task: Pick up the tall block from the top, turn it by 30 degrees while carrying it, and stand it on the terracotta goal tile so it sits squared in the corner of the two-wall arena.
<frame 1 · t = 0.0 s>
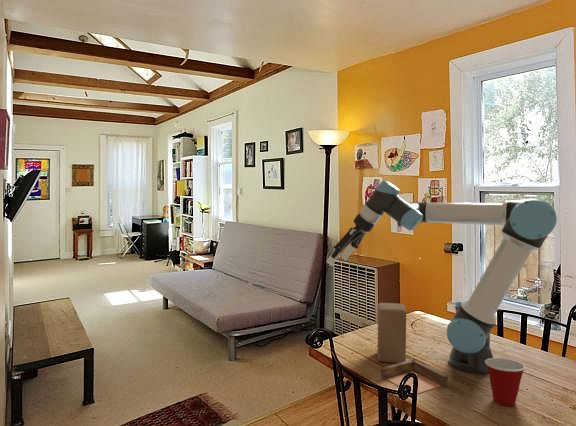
hand: (336, 261, 160), 36 cm above the table, tool tilted 35°, fingers open, 13 cm apart
goal tile: (413, 383, 136), on the table
arena: (413, 383, 136), on the table
plastic cup: (503, 401, 124), on the table
block: (391, 358, 156), on the table
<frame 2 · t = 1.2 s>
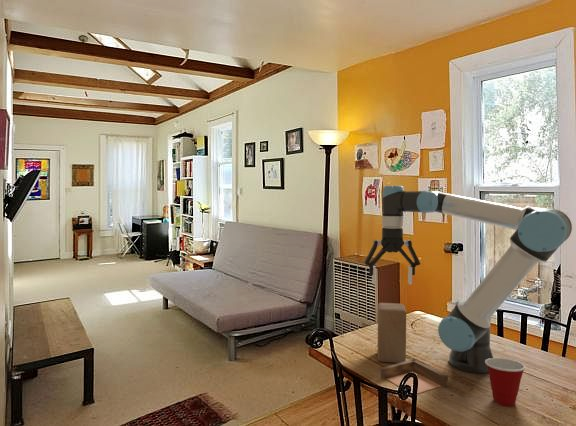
hand: (391, 283, 154), 28 cm above the table, tool pointing down, fingers open, 13 cm apart
nothing on the table moved.
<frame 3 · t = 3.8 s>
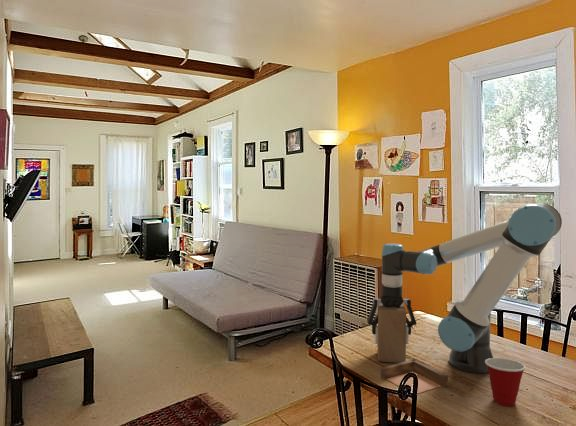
hand: (391, 342, 155), 6 cm above the table, tool pointing down, fingers closed on block, 11 cm apart
block: (391, 358, 156), on the table, touching gripper
everything else where it was.
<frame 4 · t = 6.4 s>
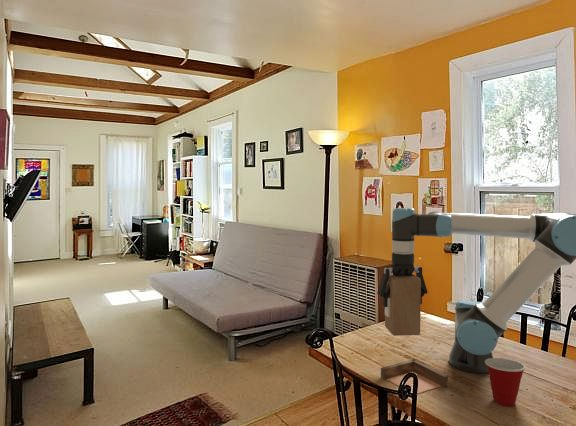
hand: (402, 314, 144), 20 cm above the table, tool pointing down, fingers closed on block, 11 cm apart
block: (402, 331, 145), point 14 cm above the table, touching gripper
everything else where it was.
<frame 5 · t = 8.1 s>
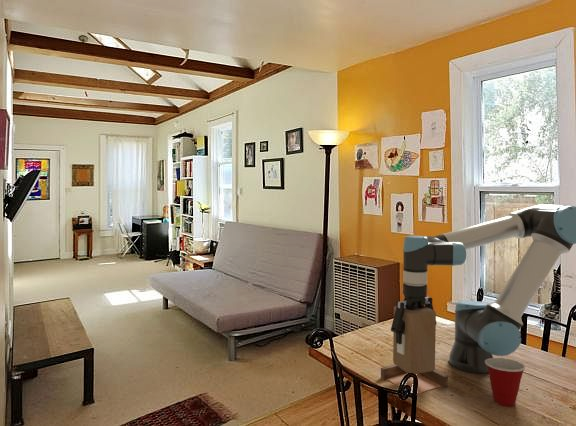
hand: (413, 349, 135), 11 cm above the table, tool pointing down, fingers closed on block, 11 cm apart
block: (413, 368, 135), point 5 cm above the table, touching gripper
everything else where it was.
when the fingers open (8 cm above the table, at t = 9.3 s): block drops 1 cm, resting on goal tile.
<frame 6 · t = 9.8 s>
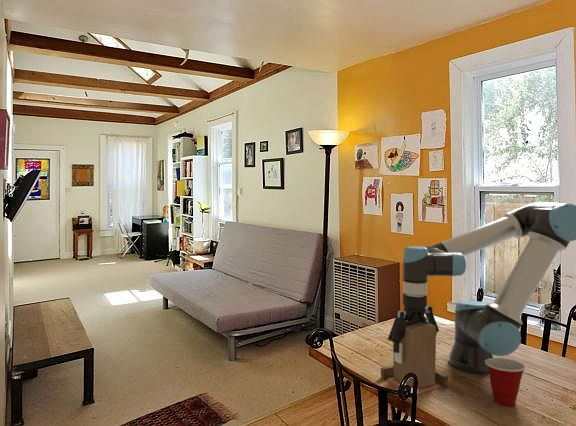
hand: (413, 357, 135), 9 cm above the table, tool pointing down, fingers open, 13 cm apart
block: (413, 382, 136), resting on goal tile
everything else where it was.
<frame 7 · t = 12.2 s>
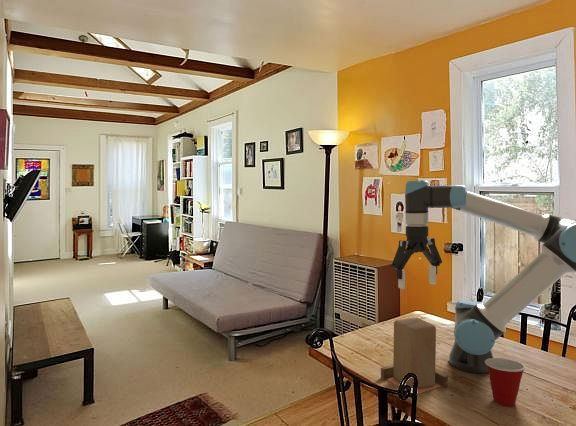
hand: (417, 286, 143), 30 cm above the table, tool pointing down, fingers open, 13 cm apart
nothing on the table moved.
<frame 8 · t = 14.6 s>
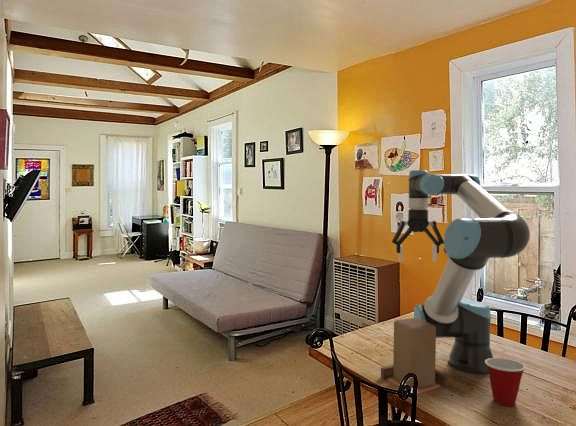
hand: (417, 261, 166), 35 cm above the table, tool pointing down, fingers open, 13 cm apart
nothing on the table moved.
at the end: block 0.1 cm off-centre on the arena, point 0.1 cm above the arena's base; block tilted 0°; the gripper is holding nothing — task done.
